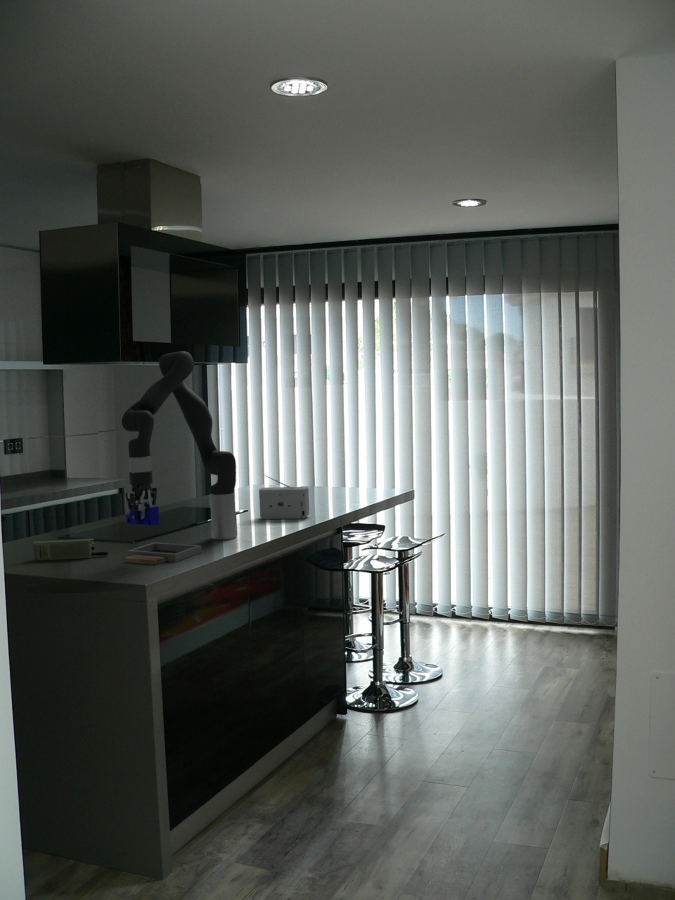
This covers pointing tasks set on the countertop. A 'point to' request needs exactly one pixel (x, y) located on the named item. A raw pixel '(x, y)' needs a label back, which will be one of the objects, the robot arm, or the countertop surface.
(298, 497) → the stereo radio cassette player
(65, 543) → the handheld radio
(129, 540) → the countertop surface
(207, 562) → the countertop surface
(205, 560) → the countertop surface
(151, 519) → the cable clip
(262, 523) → the countertop surface
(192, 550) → the grey shallow tray
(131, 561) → the walnut pad
